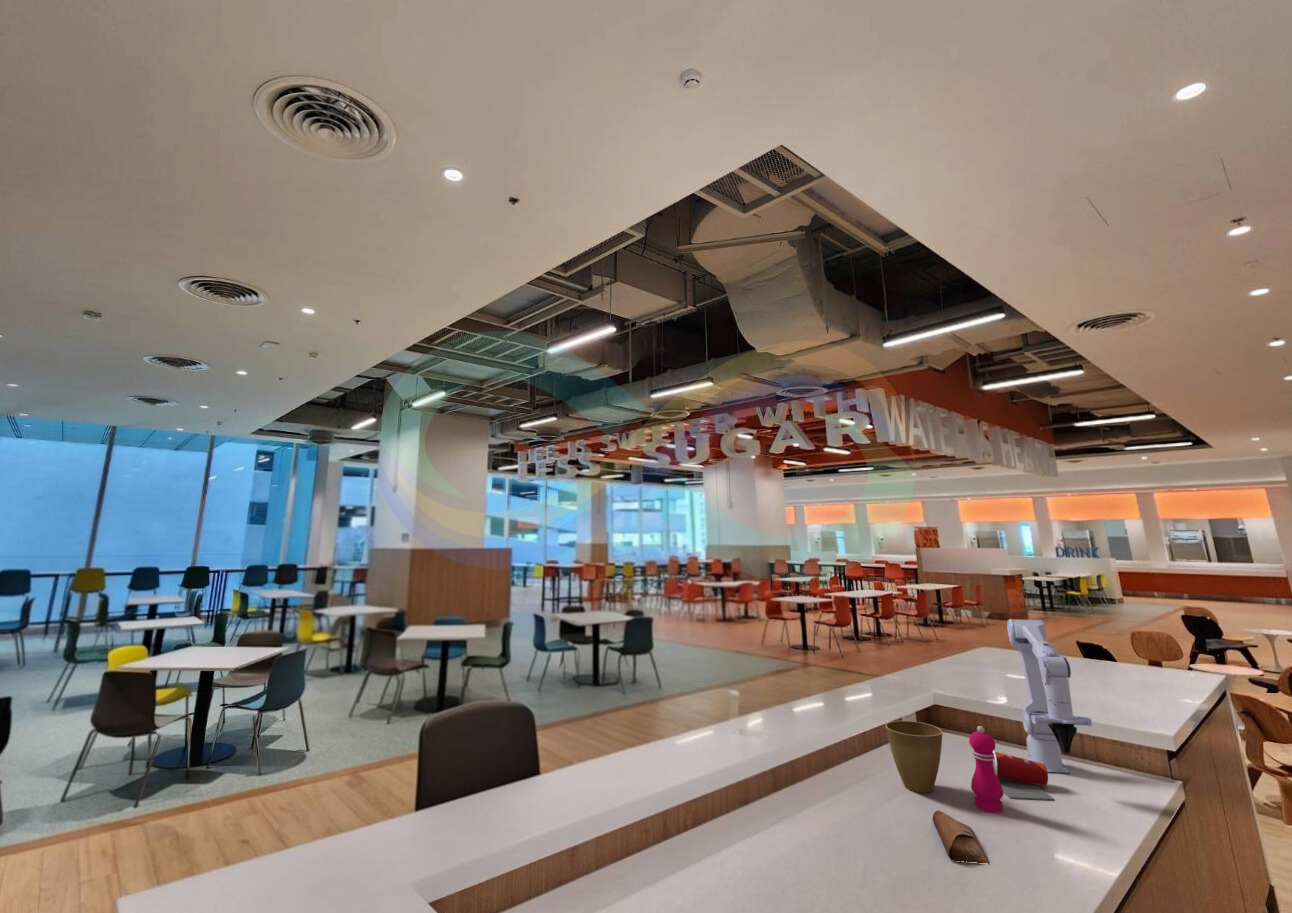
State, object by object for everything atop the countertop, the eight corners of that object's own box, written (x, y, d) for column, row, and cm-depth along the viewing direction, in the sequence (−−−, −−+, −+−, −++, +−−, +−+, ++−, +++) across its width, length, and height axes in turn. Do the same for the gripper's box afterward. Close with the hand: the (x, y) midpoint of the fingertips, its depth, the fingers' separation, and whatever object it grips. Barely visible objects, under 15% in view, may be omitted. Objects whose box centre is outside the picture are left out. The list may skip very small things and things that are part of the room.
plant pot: (958, 798, 151) (952, 735, 153) (903, 798, 151) (898, 736, 154) (932, 776, 165) (926, 719, 168) (881, 776, 166) (877, 719, 168)
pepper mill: (1010, 814, 141) (1000, 731, 145) (979, 812, 143) (970, 729, 146) (998, 802, 148) (989, 722, 152) (969, 800, 150) (961, 721, 153)
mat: (983, 775, 166) (983, 773, 166) (1023, 776, 164) (1023, 775, 164) (1010, 798, 150) (1010, 797, 150) (1054, 800, 149) (1054, 799, 149)
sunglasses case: (993, 866, 119) (972, 834, 120) (963, 881, 120) (943, 849, 121) (970, 826, 136) (952, 799, 138) (944, 839, 137) (926, 812, 139)
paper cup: (1044, 754, 159) (988, 744, 163) (1051, 782, 153) (993, 770, 158) (1037, 767, 163) (983, 756, 168) (1044, 795, 158) (987, 783, 162)
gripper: (1038, 703, 155) (1045, 756, 153) (1096, 705, 153) (1103, 758, 151) (1025, 697, 162) (1031, 747, 160) (1080, 698, 160) (1086, 749, 158)
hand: (1065, 752), depth 156 cm, fingers closed
